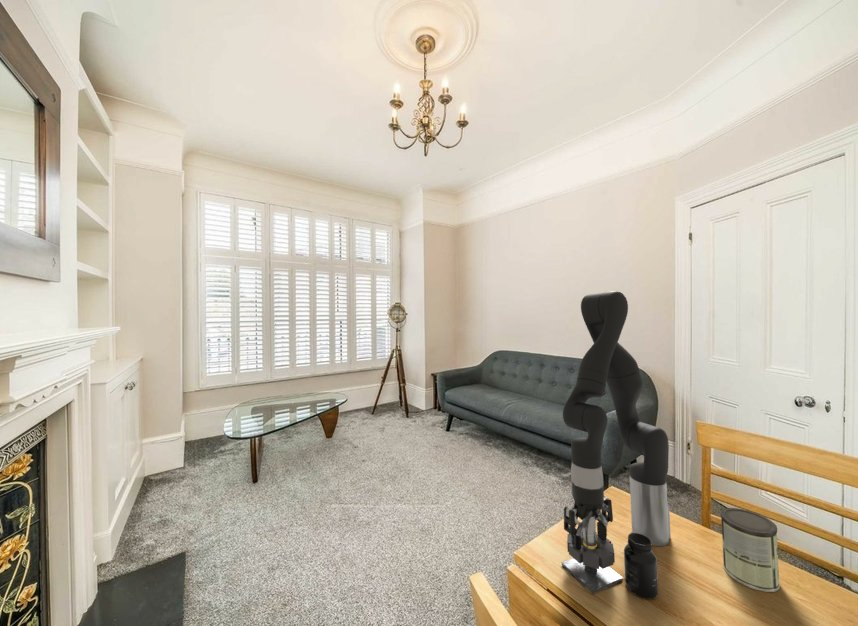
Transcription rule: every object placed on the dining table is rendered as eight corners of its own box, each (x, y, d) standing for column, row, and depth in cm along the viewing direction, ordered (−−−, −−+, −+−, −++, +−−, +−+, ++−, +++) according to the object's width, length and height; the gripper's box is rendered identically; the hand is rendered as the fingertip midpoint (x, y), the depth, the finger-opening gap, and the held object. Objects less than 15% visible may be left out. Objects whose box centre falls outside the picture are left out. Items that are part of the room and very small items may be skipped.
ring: (589, 534, 93) (588, 525, 93) (624, 560, 83) (623, 550, 83) (558, 545, 89) (558, 536, 89) (591, 573, 79) (591, 563, 79)
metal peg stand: (590, 554, 92) (587, 500, 93) (622, 580, 83) (619, 520, 83) (561, 565, 89) (559, 509, 89) (592, 594, 79) (589, 531, 80)
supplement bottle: (664, 602, 76) (661, 550, 77) (631, 598, 78) (629, 547, 78) (650, 579, 83) (648, 531, 83) (620, 575, 85) (618, 528, 85)
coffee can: (715, 557, 90) (712, 504, 90) (763, 565, 86) (761, 510, 86) (736, 587, 80) (733, 528, 80) (791, 597, 77) (788, 536, 77)
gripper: (595, 469, 92) (598, 527, 92) (554, 479, 87) (557, 541, 87) (619, 481, 85) (622, 544, 85) (577, 493, 80) (579, 561, 80)
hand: (589, 543), depth 86 cm, fingers open, 8 cm apart
